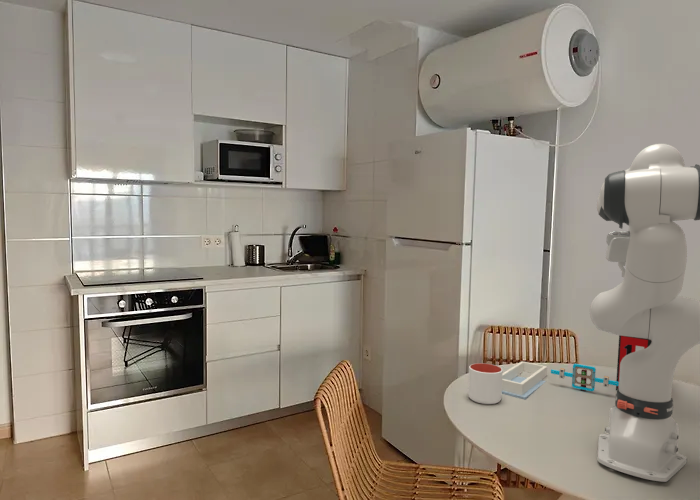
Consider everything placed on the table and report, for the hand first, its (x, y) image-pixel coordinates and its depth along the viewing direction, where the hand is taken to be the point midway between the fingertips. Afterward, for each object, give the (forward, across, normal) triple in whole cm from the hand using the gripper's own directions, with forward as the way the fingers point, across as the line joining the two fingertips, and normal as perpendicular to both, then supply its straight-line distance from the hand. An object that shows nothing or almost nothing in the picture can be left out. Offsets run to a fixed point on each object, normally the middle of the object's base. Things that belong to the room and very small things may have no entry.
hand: (642, 278), depth 147 cm
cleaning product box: (+40, +5, +15) cm, 43 cm away
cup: (+39, -44, -8) cm, 60 cm away
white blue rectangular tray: (+39, -32, +10) cm, 51 cm away
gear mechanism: (+40, -12, +8) cm, 42 cm away
